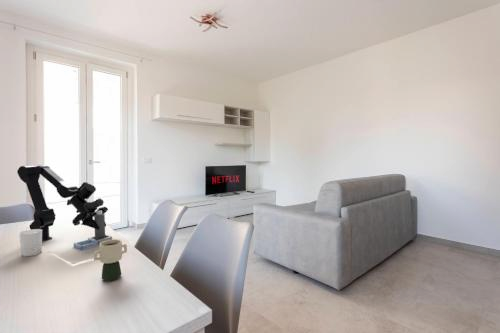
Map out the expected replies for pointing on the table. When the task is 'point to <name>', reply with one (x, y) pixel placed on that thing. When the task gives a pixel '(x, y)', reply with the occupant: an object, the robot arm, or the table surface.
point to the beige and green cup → (110, 258)
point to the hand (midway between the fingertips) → (102, 227)
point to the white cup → (31, 242)
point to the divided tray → (91, 242)
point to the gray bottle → (100, 225)
